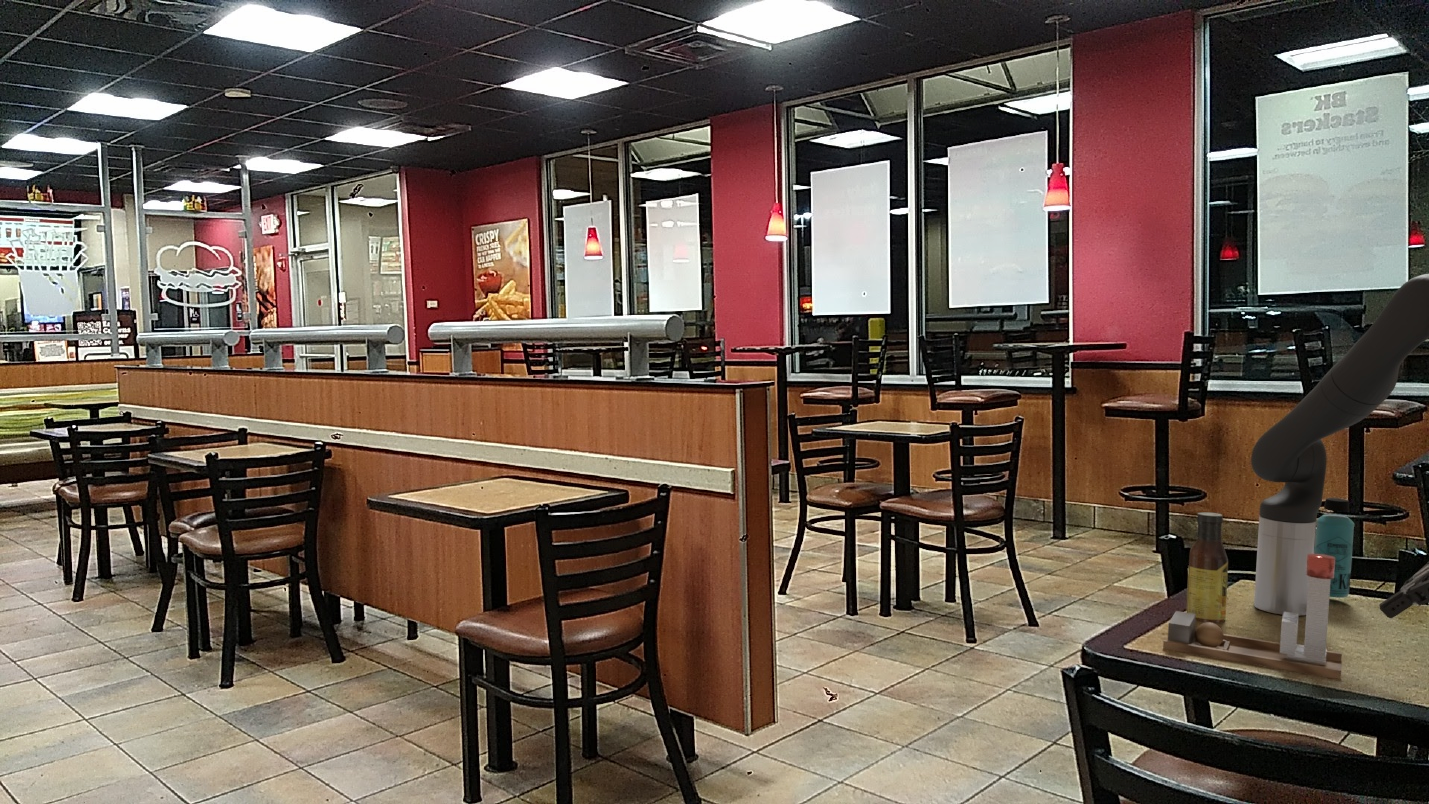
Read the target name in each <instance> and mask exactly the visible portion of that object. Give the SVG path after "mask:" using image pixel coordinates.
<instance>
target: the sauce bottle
mask: <svg viewBox="0 0 1429 804" xmlns="http://www.w3.org/2000/svg"><path fill="white" fill-rule="evenodd" d="M1223 518H1224V517H1223V514H1222V513H1217V512H1216V513H1215V512H1208V511H1207V512H1198V513H1197V516H1196V522H1197V534H1196V537H1197V539H1196V541H1195V542H1194V544H1193V545H1192V546H1191V548H1190V550H1189V560H1188V564H1189V565H1187V567H1188V568H1187V595H1186V600H1187V601H1186V613H1193V614H1196V621H1199V622H1202V623H1206V622H1211V623H1214V624H1216V623H1223V622H1225V620H1226V617H1227V597H1228V596H1227V595H1228V574H1229V573H1228V570H1229V559H1228V555H1227V553H1226V550H1225V547H1224V546H1225V545H1224V543H1223V539H1222V524H1223V523H1224V519H1223Z"/></svg>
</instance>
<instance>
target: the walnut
mask: <svg viewBox="0 0 1429 804" xmlns="http://www.w3.org/2000/svg"><path fill="white" fill-rule="evenodd" d="M1196 629H1197V630H1196V638H1197V640H1198V642H1199V643H1200V644H1201V645H1204V646H1210V647H1217V646H1219V645H1220V644H1221V643H1222V641H1223V638H1224V635H1223V634H1224V632H1223V630H1222V628H1221V627H1220V626H1219V625H1218V624H1216V623H1211V622H1202V623H1201V624H1199V625H1198V626H1197V628H1196Z"/></svg>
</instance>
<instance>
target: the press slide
mask: <svg viewBox="0 0 1429 804" xmlns="http://www.w3.org/2000/svg"><path fill="white" fill-rule="evenodd" d="M1334 568H1335V557H1333V556H1329V555H1324V554H1308V555H1307V567H1306V575H1307V576H1309V581H1308V596H1307V611H1306V615H1305V626H1304V642H1303V643H1304V644H1298V630H1299V614H1297V613H1290V612H1284V613H1283V615H1282V619H1281V625H1280V626H1281V627H1280V641H1279V643H1280V653H1281V654H1287V661H1293V662H1299V663H1305V664H1311V665H1317V666H1323V667H1325V666H1326V652H1327V651H1328V650H1327V638H1328V624H1329V623H1328V622H1329V621H1328V620H1329V609H1330V608H1329V606H1330V597H1329V595H1330V581H1331V579H1333V578H1334Z"/></svg>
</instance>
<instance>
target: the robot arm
mask: <svg viewBox="0 0 1429 804" xmlns="http://www.w3.org/2000/svg"><path fill="white" fill-rule="evenodd" d="M1428 339H1429V273H1425V274H1421V275H1417V276H1414V277H1412V278H1411V279H1409V280H1407V281H1406V282H1405V283H1403V284H1402V285H1401V286H1400V287H1399V288H1398V289H1397V291H1396V292H1395V293H1394V294H1393V296H1392V297H1391V299H1390V300H1389V301H1388V302H1387V303H1386V305H1385V306H1384V308H1383V310H1382V311H1381V312H1380V314H1379V315H1378V316H1377V317H1376V319H1375V320H1374V322H1373V323H1372V325H1371V326H1370V327H1369V328H1368V329H1367V331H1366V332H1365V333H1364V334H1363V335H1362V336H1361V337H1360V338H1359V339H1358V340H1357V341H1356V342H1355V343H1354V344H1353V346H1352V347H1351V348H1350V349H1349V350H1348V351H1347V352H1346V353H1345V354H1344V355H1343V356H1342V357H1341V358H1340V359H1339V360H1338V361H1337V362H1336V363H1334V365H1332V367H1331V368H1330V369H1329V370H1328V371H1327V373H1326V374H1324V376H1323V377H1322V378H1321V379H1320V381H1319V382H1318V383H1317V384H1316V385H1315V386H1314V387H1313V389H1312V390H1310V391H1309V392H1308V394H1307V395H1306V396H1304V397H1303V398H1302V399H1301V401H1300V402H1298V404H1296V406H1295V407H1294V408H1292V409H1291V411H1289V412H1288V413H1287V414H1286V415H1285V416H1284V417H1283V418H1282V419H1280V420H1279V421H1277V423H1275V424H1274V425H1273V426H1271V427H1270V428H1269V429H1268V430H1266V432H1264V433H1263V434H1262V435H1261V436H1260V437H1259V438H1258V440H1257V441H1256V443H1255V444H1254V446H1253V448H1252V451H1251V457H1250V462H1251V463H1250V464H1251V468H1252V470H1253V472H1254V474H1255V475H1256V476H1257V477H1259V479H1262V480H1264V481H1267V482H1272V483H1284V486H1283V487H1282V489H1280V491H1279V492H1277V493H1276V494H1273V495H1272V496H1270V497H1267V498H1265V499H1263V500H1262V501H1261V502H1260V505H1259V513H1258V514H1259V515H1258V516H1259V518H1258V536H1257V551H1256V564H1255V565H1256V568H1255V582H1254V585H1255V586H1254V596H1253V597H1254V598H1253V599H1254V600H1253V606H1254V607H1255V608H1256V609H1259V610H1261V611H1262V612H1263V611H1264V612H1267V613H1272V614H1276V615H1282V616H1283V613H1284V612H1290V613H1297V614H1299V616H1306V611H1307V596H1308V581H1309V576H1307V575H1306V567H1307V555H1308V554H1314V551H1315V539H1316V528H1317V519H1318V518H1317V516H1318V512H1319V511H1320V508H1321V506H1322V503H1323V497H1324V488H1325V480H1326V473H1327V457H1328V456H1327V451H1326V447H1325V444H1324V441H1322V439H1325V438H1326V437H1329V436H1332V435H1334V434H1336V433H1338V432H1341V431H1343V430H1345V429H1347V428H1349V427H1352V426H1354V425H1355V424H1358V423H1359V422H1361V421H1363V420H1364V419H1365V418H1367V417H1368V416H1369V415H1371V414H1372V413H1373V412H1374V411H1375V410H1376V409H1377V408H1378V407H1380V405H1382V403H1384V401H1385V400H1386V399H1388V397H1390V395H1391V394H1392V393H1393V391H1394V390H1395V388H1396V385H1397V383H1398V378H1399V372H1400V367H1401V365H1402V363H1403V361H1404V360H1405V359H1406V358H1407V357H1408V356H1409V355H1410V354H1411V353H1412V352H1413V351H1414V350H1415V349H1417V347H1419V346H1420V345H1422V344H1423V343H1425V341H1427V340H1428ZM1427 603H1429V561H1428V562H1426V564H1425V565H1424V566H1422V568H1420V569H1419V570H1418V571H1417V572H1415V574H1413V575H1412V576H1411V577H1410V578H1408V579H1407V580H1406V581H1405V582H1404V583H1403V586H1401V588H1400V589H1399V591H1398V592H1396V593H1395V594H1393V595H1391V596H1390V597H1388V598H1386V599H1385V600H1384V601H1382V602H1380V603H1379V610H1380V611H1381V612H1382V613H1383V615H1385V616H1386V617H1387V618H1388V619H1393V618H1394V617H1396V616H1398V615H1399V614H1401V613H1402V612H1404V611H1406V610H1407V609H1409V608H1411V607H1412V606H1414V607H1415V606H1418V607H1420V606H1423V605H1425V604H1427Z"/></svg>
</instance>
